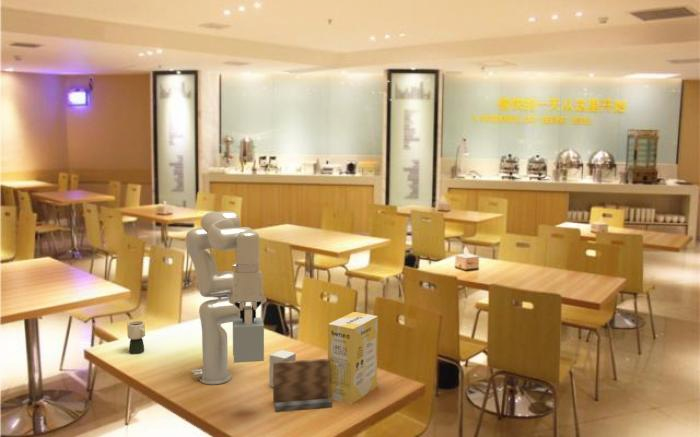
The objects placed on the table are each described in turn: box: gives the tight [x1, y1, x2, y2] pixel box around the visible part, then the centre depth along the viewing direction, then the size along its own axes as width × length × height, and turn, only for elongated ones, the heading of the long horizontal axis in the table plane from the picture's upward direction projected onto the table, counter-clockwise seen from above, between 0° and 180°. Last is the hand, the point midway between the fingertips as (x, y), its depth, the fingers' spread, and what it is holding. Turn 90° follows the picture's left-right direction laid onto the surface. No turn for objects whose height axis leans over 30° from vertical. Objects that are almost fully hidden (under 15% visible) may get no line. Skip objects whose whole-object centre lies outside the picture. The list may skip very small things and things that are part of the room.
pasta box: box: [327, 311, 379, 405], centre depth 238 cm, size 18×10×28 cm, turn 149°
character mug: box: [126, 320, 146, 354], centre depth 277 cm, size 11×7×13 cm, turn 58°
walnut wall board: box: [272, 358, 333, 413], centre depth 228 cm, size 20×8×15 cm, turn 102°
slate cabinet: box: [232, 305, 265, 364], centre depth 219 cm, size 10×9×18 cm
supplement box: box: [268, 349, 297, 388], centre depth 245 cm, size 7×7×13 cm
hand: (248, 319), depth 219 cm, fingers closed on slate cabinet, 2 cm apart
